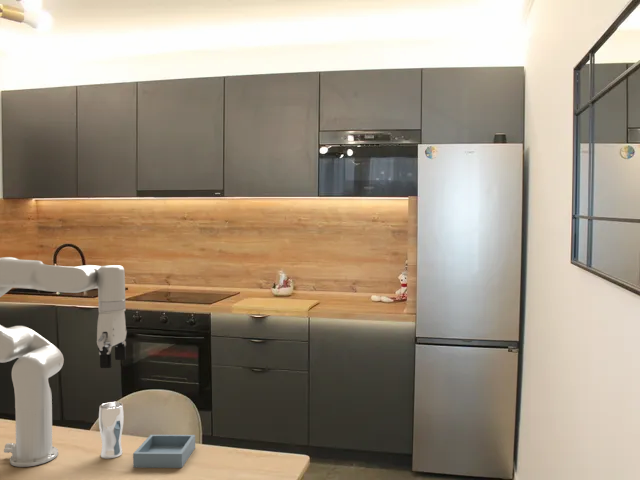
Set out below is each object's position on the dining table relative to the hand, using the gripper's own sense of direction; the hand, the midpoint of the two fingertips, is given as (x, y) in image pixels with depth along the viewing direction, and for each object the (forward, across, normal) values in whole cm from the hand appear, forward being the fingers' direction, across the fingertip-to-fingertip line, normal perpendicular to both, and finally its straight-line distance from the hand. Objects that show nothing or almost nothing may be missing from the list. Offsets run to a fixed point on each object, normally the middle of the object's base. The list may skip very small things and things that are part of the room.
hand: (113, 363), depth 155 cm
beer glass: (+28, -1, -2) cm, 28 cm away
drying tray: (+28, 0, +15) cm, 32 cm away
